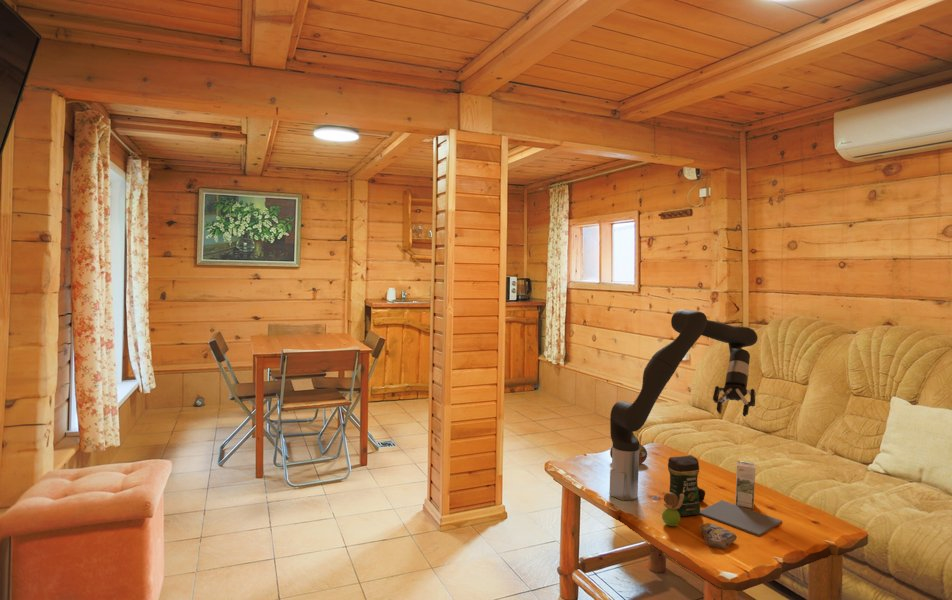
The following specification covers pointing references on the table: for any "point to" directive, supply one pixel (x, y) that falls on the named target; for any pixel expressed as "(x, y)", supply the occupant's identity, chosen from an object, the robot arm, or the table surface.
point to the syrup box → (745, 484)
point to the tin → (641, 454)
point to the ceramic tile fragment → (717, 536)
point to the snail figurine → (672, 509)
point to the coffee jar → (685, 483)
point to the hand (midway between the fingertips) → (731, 414)
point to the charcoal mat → (740, 517)
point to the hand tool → (701, 494)
